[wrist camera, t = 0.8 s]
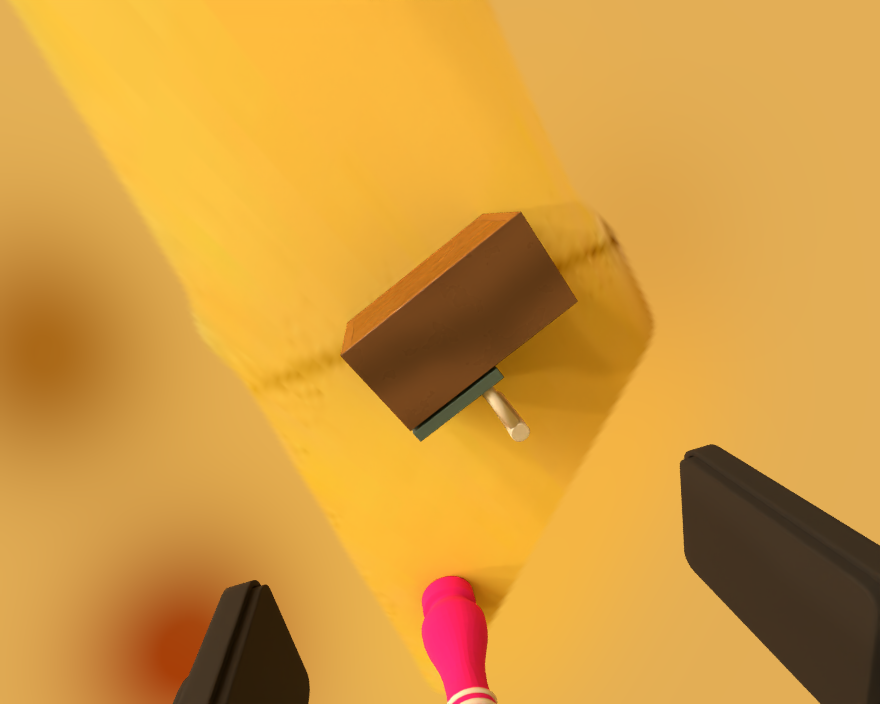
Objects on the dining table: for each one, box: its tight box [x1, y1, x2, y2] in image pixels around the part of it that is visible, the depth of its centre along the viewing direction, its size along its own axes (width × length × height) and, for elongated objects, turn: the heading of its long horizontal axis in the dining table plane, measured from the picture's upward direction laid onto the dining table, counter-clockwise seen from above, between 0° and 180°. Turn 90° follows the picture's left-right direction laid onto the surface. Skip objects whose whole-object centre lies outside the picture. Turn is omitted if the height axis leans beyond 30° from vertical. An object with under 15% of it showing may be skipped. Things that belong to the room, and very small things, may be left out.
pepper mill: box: [422, 576, 497, 704], centre depth 41 cm, size 7×7×20 cm
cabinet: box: [341, 212, 578, 431], centre depth 35 cm, size 8×16×10 cm, turn 127°
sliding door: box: [413, 366, 530, 442], centre depth 38 cm, size 7×8×10 cm
